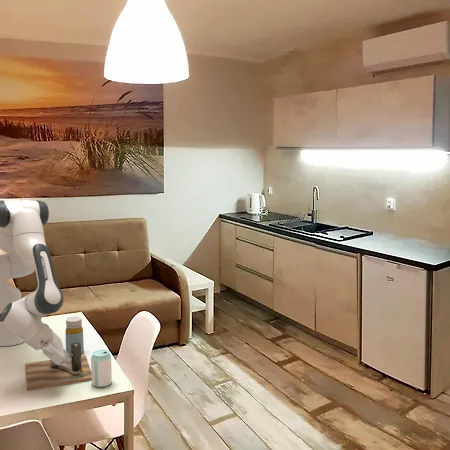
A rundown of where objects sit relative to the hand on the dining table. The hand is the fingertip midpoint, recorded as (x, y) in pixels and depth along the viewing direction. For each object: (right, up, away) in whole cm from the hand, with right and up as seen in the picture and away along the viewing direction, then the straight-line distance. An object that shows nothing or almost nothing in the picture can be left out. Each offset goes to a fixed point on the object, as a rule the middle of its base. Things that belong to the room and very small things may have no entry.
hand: (69, 359), depth 191 cm
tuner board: (-6, -7, +7) cm, 12 cm away
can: (+12, -9, -2) cm, 15 cm away
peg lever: (-2, -5, +6) cm, 9 cm away
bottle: (-5, -4, +25) cm, 26 cm away
